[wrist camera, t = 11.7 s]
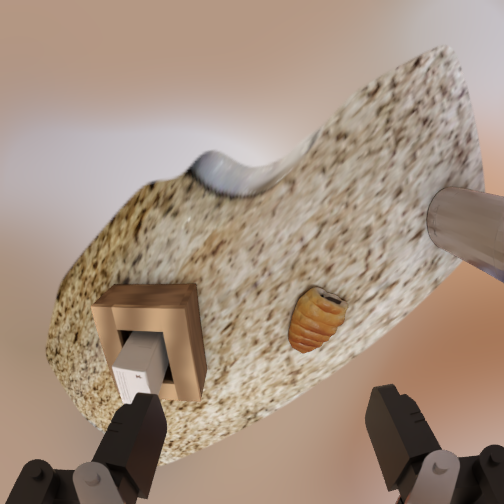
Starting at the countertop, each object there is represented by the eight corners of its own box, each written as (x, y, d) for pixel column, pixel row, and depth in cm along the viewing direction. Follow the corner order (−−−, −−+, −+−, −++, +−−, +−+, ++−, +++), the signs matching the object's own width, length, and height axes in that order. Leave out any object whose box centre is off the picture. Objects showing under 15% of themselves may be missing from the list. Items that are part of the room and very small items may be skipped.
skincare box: (141, 313, 39) (107, 364, 27) (172, 316, 39) (145, 370, 27) (147, 349, 41) (119, 404, 29) (175, 353, 41) (154, 410, 29)
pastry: (316, 351, 41) (321, 367, 38) (275, 337, 41) (276, 352, 37) (348, 298, 39) (357, 310, 35) (306, 280, 38) (311, 291, 35)
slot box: (196, 283, 38) (184, 308, 31) (207, 369, 42) (200, 401, 35) (114, 284, 38) (90, 306, 31) (133, 365, 42) (118, 394, 35)
